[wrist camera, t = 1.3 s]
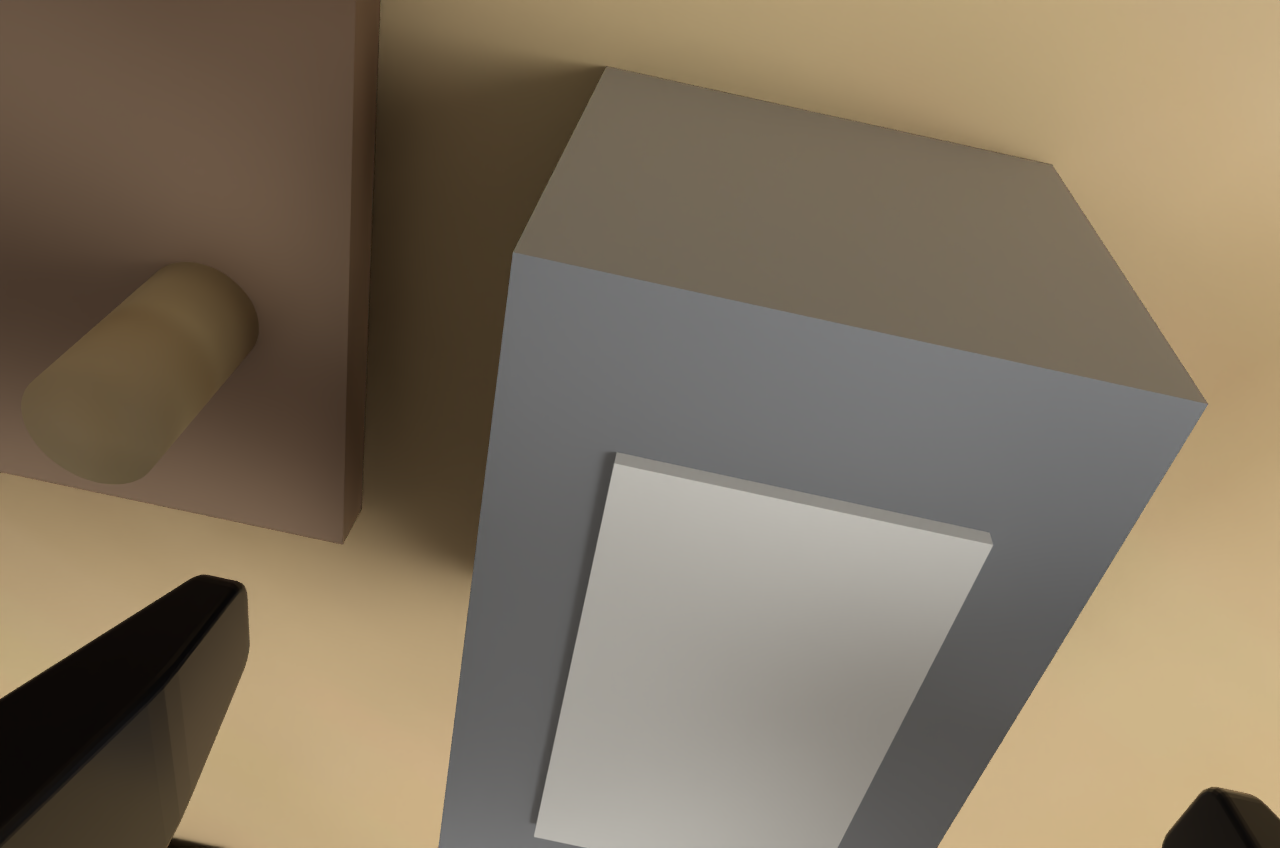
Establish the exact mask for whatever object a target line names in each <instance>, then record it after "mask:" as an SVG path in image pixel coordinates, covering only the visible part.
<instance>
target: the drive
mask: <svg viewBox="0 0 1280 848" xmlns="http://www.w3.org/2000/svg"><path fill="white" fill-rule="evenodd" d="M1207 405H1208V403H1207V402H1206V400H1205V399H1204V397H1203V395H1202V394H1201V392H1200V391H1199V389H1198V388H1197V386H1196V385H1195V383H1194V382H1193V380H1192V379H1191V377H1190V376H1189V374H1188V372H1187V371H1186V369H1185V368H1184V366H1183V365H1182V363H1181V362H1180V360H1179V359H1178V357H1177V356H1176V354H1175V353H1174V351H1173V349H1172V348H1171V346H1170V345H1169V343H1168V342H1167V340H1166V339H1165V337H1164V336H1163V334H1162V333H1161V331H1160V329H1159V328H1158V326H1157V325H1156V323H1155V322H1154V320H1153V319H1152V317H1151V316H1150V314H1149V313H1148V311H1147V310H1146V308H1145V306H1144V305H1143V303H1142V302H1141V300H1140V299H1139V297H1138V296H1137V294H1136V293H1135V291H1134V290H1133V288H1132V287H1131V285H1130V283H1129V282H1128V280H1127V279H1126V277H1125V276H1124V274H1123V273H1122V271H1121V270H1120V268H1119V267H1118V265H1117V263H1116V262H1115V260H1114V259H1113V257H1112V256H1111V254H1110V253H1109V251H1108V250H1107V248H1106V247H1105V245H1104V244H1103V242H1102V240H1101V239H1100V237H1099V236H1098V234H1097V233H1096V231H1095V230H1094V228H1093V227H1092V225H1091V224H1090V222H1089V221H1088V219H1087V217H1086V216H1085V214H1084V213H1083V211H1082V210H1081V208H1080V207H1079V205H1078V204H1077V202H1076V201H1075V199H1074V197H1073V196H1072V194H1071V193H1070V191H1069V190H1068V188H1067V187H1066V185H1065V184H1064V182H1063V181H1062V179H1061V178H1060V176H1059V174H1058V173H1057V171H1056V170H1055V168H1054V167H1053V165H1051V164H1046V163H1042V162H1037V161H1033V160H1028V159H1024V158H1019V157H1015V156H1010V155H1006V154H1001V153H997V152H992V151H988V150H983V149H979V148H974V147H970V146H965V145H961V144H956V143H952V142H947V141H942V140H938V139H933V138H929V137H924V136H920V135H915V134H911V133H906V132H902V131H897V130H893V129H888V128H884V127H879V126H875V125H870V124H866V123H861V122H857V121H852V120H848V119H843V118H838V117H834V116H829V115H825V114H820V113H816V112H811V111H807V110H802V109H798V108H793V107H789V106H784V105H780V104H775V103H771V102H766V101H762V100H757V99H753V98H748V97H744V96H739V95H734V94H730V93H725V92H721V91H716V90H712V89H707V88H703V87H698V86H694V85H689V84H685V83H680V82H676V81H671V80H667V79H662V78H658V77H653V76H649V75H644V74H640V73H635V72H630V71H626V70H621V69H617V68H612V67H608V66H606V68H605V70H604V72H603V74H602V76H601V78H600V80H599V82H598V84H597V86H596V88H595V90H594V92H593V94H592V96H591V98H590V100H589V102H588V104H587V106H586V108H585V110H584V112H583V114H582V116H581V118H580V120H579V122H578V124H577V126H576V128H575V130H574V132H573V134H572V136H571V138H570V140H569V142H568V144H567V146H566V148H565V150H564V152H563V154H562V156H561V158H560V160H559V162H558V164H557V166H556V168H555V170H554V172H553V174H552V175H551V177H550V179H549V181H548V183H547V185H546V187H545V189H544V191H543V193H542V195H541V197H540V199H539V201H538V203H537V205H536V207H535V209H534V211H533V213H532V215H531V217H530V219H529V221H528V223H527V225H526V227H525V229H524V231H523V233H522V235H521V237H520V239H519V241H518V243H517V245H516V247H515V249H514V251H513V256H512V264H511V272H510V280H509V288H508V296H507V304H506V312H505V320H504V328H503V336H502V344H501V352H500V360H499V368H498V376H497V384H496V392H495V400H494V408H493V416H492V424H491V432H490V440H489V448H488V456H487V464H486V472H485V480H484V488H483V496H482V504H481V512H480V520H479V528H478V536H477V544H476V552H475V560H474V568H473V576H472V584H471V592H470V600H469V608H468V616H467V624H466V632H465V640H464V648H463V656H462V664H461V672H460V680H459V688H458V696H457V704H456V712H455V720H454V728H453V736H452V744H451V752H450V760H449V768H448V776H447V784H446V792H445V800H444V808H443V816H442V824H441V832H440V840H439V848H937V847H938V845H939V843H940V842H941V840H942V839H943V837H944V835H945V834H946V832H947V830H948V829H949V827H950V825H951V824H952V822H953V821H954V819H955V817H956V816H957V814H958V812H959V811H960V809H961V807H962V806H963V804H964V803H965V801H966V799H967V798H968V796H969V794H970V793H971V791H972V789H973V788H974V786H975V785H976V783H977V781H978V780H979V778H980V776H981V775H982V773H983V771H984V770H985V768H986V767H987V765H988V763H989V762H990V760H991V758H992V757H993V755H994V753H995V752H996V750H997V749H998V747H999V745H1000V744H1001V742H1002V740H1003V739H1004V737H1005V736H1006V734H1007V732H1008V731H1009V729H1010V727H1011V726H1012V724H1013V722H1014V721H1015V719H1016V718H1017V716H1018V714H1019V713H1020V711H1021V709H1022V708H1023V706H1024V704H1025V703H1026V701H1027V700H1028V698H1029V696H1030V695H1031V693H1032V691H1033V690H1034V688H1035V686H1036V685H1037V683H1038V682H1039V680H1040V678H1041V677H1042V675H1043V673H1044V672H1045V670H1046V668H1047V667H1048V665H1049V664H1050V662H1051V660H1052V659H1053V657H1054V655H1055V654H1056V652H1057V650H1058V649H1059V647H1060V646H1061V644H1062V642H1063V641H1064V639H1065V637H1066V636H1067V634H1068V632H1069V631H1070V629H1071V628H1072V626H1073V624H1074V623H1075V621H1076V619H1077V618H1078V616H1079V614H1080V613H1081V611H1082V610H1083V608H1084V606H1085V605H1086V603H1087V601H1088V600H1089V598H1090V596H1091V595H1092V593H1093V592H1094V590H1095V588H1096V587H1097V585H1098V583H1099V582H1100V580H1101V578H1102V577H1103V575H1104V574H1105V572H1106V570H1107V569H1108V567H1109V565H1110V564H1111V562H1112V560H1113V559H1114V557H1115V556H1116V554H1117V552H1118V551H1119V549H1120V547H1121V546H1122V544H1123V542H1124V541H1125V539H1126V538H1127V536H1128V534H1129V533H1130V531H1131V529H1132V528H1133V526H1134V524H1135V523H1136V521H1137V520H1138V518H1139V516H1140V515H1141V513H1142V511H1143V510H1144V508H1145V507H1146V505H1147V503H1148V502H1149V500H1150V498H1151V497H1152V495H1153V493H1154V492H1155V490H1156V489H1157V487H1158V485H1159V484H1160V482H1161V480H1162V479H1163V477H1164V475H1165V474H1166V472H1167V471H1168V469H1169V467H1170V466H1171V464H1172V462H1173V461H1174V459H1175V457H1176V456H1177V454H1178V453H1179V451H1180V449H1181V448H1182V446H1183V444H1184V443H1185V441H1186V439H1187V438H1188V436H1189V435H1190V433H1191V431H1192V430H1193V428H1194V426H1195V425H1196V423H1197V421H1198V420H1199V418H1200V417H1201V415H1202V413H1203V412H1204V410H1205V408H1206V407H1207Z"/></svg>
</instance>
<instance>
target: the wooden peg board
mask: <svg viewBox="0 0 1280 848" xmlns="http://www.w3.org/2000/svg"><path fill="white" fill-rule="evenodd" d="M379 21H380V0H0V472H3V473H8V474H12V475H17V476H22V477H26V478H31V479H36V480H41V481H45V482H50V483H55V484H60V485H64V486H69V487H74V488H78V489H83V490H88V491H93V492H97V493H102V494H107V495H111V496H116V497H121V498H126V499H130V500H135V501H140V502H145V503H149V504H154V505H159V506H163V507H168V508H173V509H178V510H182V511H187V512H192V513H196V514H201V515H206V516H211V517H215V518H220V519H225V520H230V521H234V522H239V523H244V524H248V525H253V526H258V527H263V528H267V529H272V530H277V531H282V532H286V533H291V534H296V535H300V536H305V537H310V538H315V539H319V540H324V541H329V542H333V543H338V544H343V543H344V541H345V539H346V538H347V536H348V534H349V532H350V530H351V528H352V526H353V524H354V522H355V520H356V519H357V517H358V515H359V513H360V511H361V509H362V485H363V458H364V430H365V403H366V376H367V349H368V321H369V294H370V267H371V239H372V212H373V185H374V157H375V130H376V103H377V75H378V48H379Z"/></svg>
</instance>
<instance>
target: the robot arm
mask: <svg viewBox="0 0 1280 848" xmlns="http://www.w3.org/2000/svg"><path fill="white" fill-rule="evenodd" d="M249 646H250V640H249V619H248V599H247V591H246V588H245V586H244V585H243V584H242V583H240V582H238V581H234V580H229V579H224V578H220V577H215V576H210V575H199V576H196V577H193V578H191V579H190V580H188V581H186V582H185V583H183V584H182V585H180V586H178V587H177V588H175V589H174V590H172V591H171V592H169V593H167V594H166V595H164V596H163V597H161V598H159V599H158V600H156V601H155V602H153V603H152V604H150V605H148V606H147V607H145V608H144V609H142V610H140V611H139V612H137V613H136V614H134V615H133V616H131V617H129V618H128V619H126V620H125V621H123V622H121V623H120V624H118V625H117V626H115V627H114V628H112V629H110V630H109V631H107V632H106V633H104V634H102V635H101V636H99V637H98V638H96V639H94V640H93V641H91V642H90V643H88V644H87V645H85V646H83V647H82V648H80V649H79V650H77V651H75V652H74V653H72V654H71V655H69V656H68V657H66V658H64V659H63V660H61V661H60V662H58V663H56V664H55V665H53V666H52V667H50V668H49V669H47V670H45V671H44V672H42V673H41V674H39V675H37V676H36V677H34V678H33V679H31V680H30V681H28V682H26V683H25V684H23V685H22V686H20V687H18V688H17V689H15V690H14V691H12V692H11V693H9V694H7V695H6V696H4V697H3V698H1V699H0V848H167V847H168V845H169V843H170V841H171V839H172V837H173V835H174V833H175V831H176V829H177V827H178V825H179V823H180V822H181V819H182V817H183V815H184V812H185V810H186V808H187V806H188V803H189V801H190V799H191V796H192V794H193V792H194V789H195V787H196V784H197V782H198V780H199V777H200V775H201V772H202V770H203V767H204V765H205V763H206V760H207V758H208V755H209V753H210V751H211V748H212V746H213V743H214V741H215V738H216V736H217V734H218V731H219V729H220V726H221V724H222V722H223V719H224V717H225V714H226V712H227V709H228V707H229V705H230V702H231V700H232V697H233V695H234V693H235V690H236V688H237V685H238V683H239V680H240V678H241V676H242V673H243V671H244V668H245V665H246V662H247V658H248V653H249ZM1162 848H1280V819H1279V818H1278V817H1277V816H1276V815H1275V814H1274V813H1273V812H1272V811H1271V809H1270V808H1269V807H1268V806H1267V805H1266V804H1264V803H1263V802H1262V801H1261V800H1260V799H1258V798H1257V797H1255V796H1253V795H1250V794H1247V793H1243V792H1238V791H1233V790H1228V789H1224V788H1219V787H1210V788H1208V789H1205V790H1203V791H1202V792H1201V793H1200V794H1199V795H1198V796H1197V798H1196V799H1195V800H1194V801H1193V802H1192V804H1191V805H1190V806H1189V807H1188V808H1187V810H1186V811H1185V812H1184V813H1183V815H1182V816H1181V817H1180V818H1179V819H1178V821H1177V822H1176V823H1175V824H1174V825H1173V827H1172V828H1171V829H1170V830H1169V832H1168V833H1167V835H1166V836H1165V839H1164V841H1163V845H1162Z"/></svg>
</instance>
